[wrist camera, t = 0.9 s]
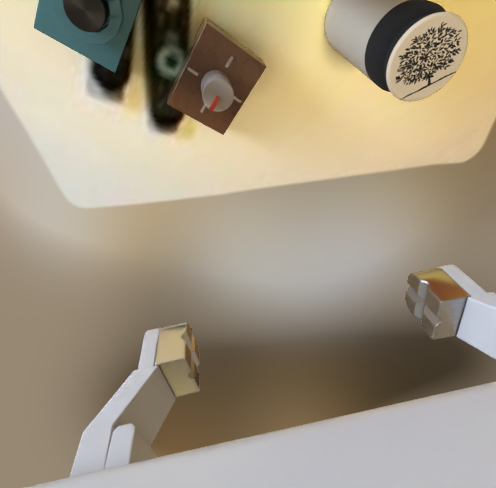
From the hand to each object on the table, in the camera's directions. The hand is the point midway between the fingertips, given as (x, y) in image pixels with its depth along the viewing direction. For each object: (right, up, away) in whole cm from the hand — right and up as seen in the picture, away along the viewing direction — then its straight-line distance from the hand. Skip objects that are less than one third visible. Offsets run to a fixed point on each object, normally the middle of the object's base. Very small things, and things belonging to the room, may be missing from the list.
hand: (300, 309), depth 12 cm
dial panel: (-7, +26, +33) cm, 42 cm away
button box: (-20, +31, +25) cm, 44 cm away
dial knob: (-6, +24, +31) cm, 39 cm away
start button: (-19, +28, +23) cm, 41 cm away
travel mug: (+12, +32, +30) cm, 46 cm away
